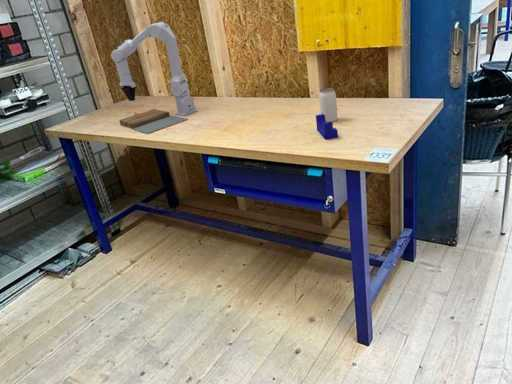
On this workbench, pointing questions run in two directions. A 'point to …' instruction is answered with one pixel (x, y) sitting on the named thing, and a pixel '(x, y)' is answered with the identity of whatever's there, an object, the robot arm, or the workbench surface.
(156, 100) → the workbench surface
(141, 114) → the tile
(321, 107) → the can
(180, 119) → the mat
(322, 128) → the blue angular piece
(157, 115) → the deck
